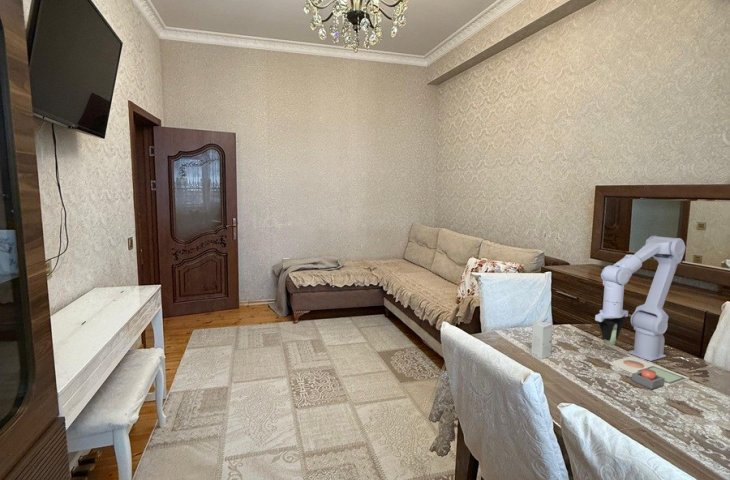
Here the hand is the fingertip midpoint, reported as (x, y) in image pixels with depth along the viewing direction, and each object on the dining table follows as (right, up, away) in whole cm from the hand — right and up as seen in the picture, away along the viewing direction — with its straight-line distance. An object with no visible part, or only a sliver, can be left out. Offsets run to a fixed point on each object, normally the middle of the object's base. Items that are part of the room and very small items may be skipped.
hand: (610, 338), depth 134 cm
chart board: (+9, -10, -5) cm, 14 cm away
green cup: (0, -2, 0) cm, 2 cm away
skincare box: (-21, -8, +7) cm, 24 cm away
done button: (+3, -9, -14) cm, 17 cm away
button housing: (+3, -11, -14) cm, 18 cm away
